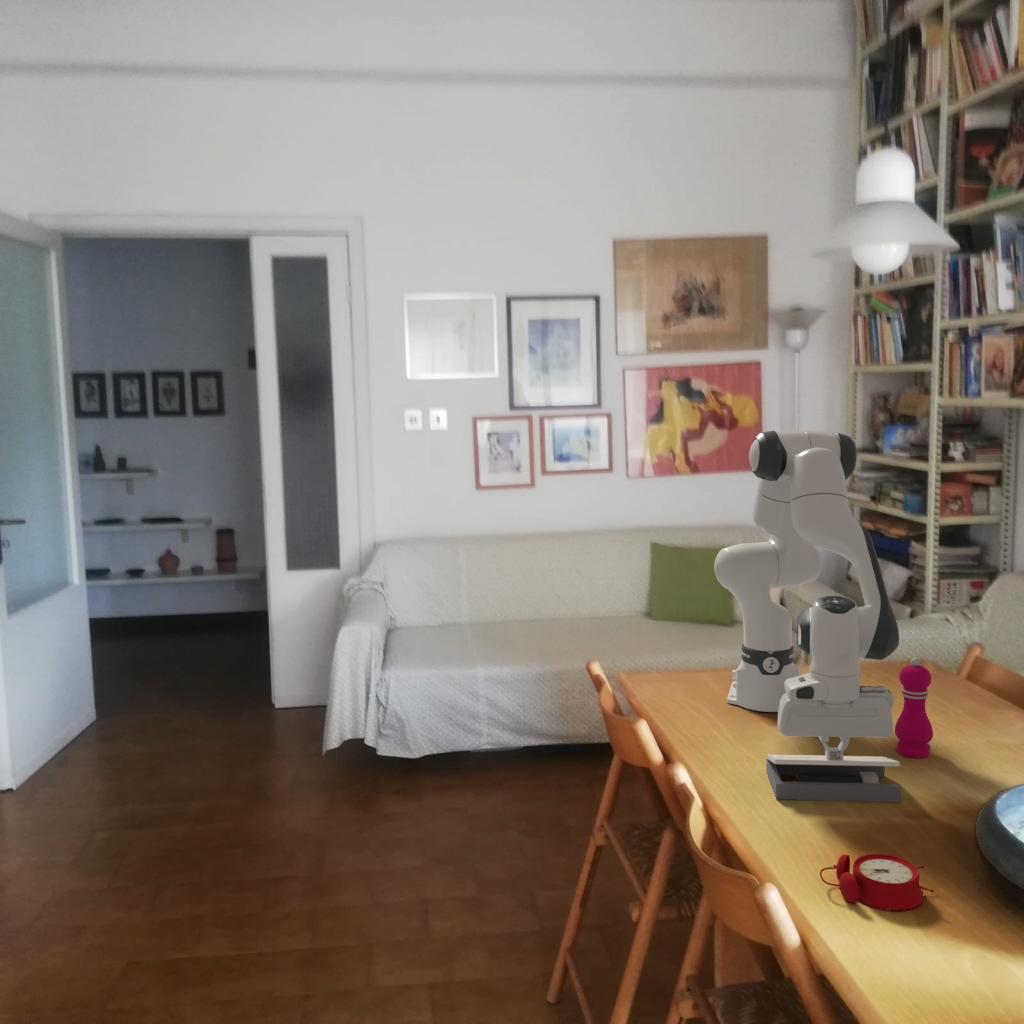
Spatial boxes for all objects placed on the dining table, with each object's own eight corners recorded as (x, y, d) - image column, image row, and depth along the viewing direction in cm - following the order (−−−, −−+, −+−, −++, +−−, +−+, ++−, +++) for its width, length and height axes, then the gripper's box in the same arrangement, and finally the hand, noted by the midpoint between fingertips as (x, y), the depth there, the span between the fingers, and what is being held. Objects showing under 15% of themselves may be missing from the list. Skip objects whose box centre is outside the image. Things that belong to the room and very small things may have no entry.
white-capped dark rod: (795, 789, 179) (796, 776, 179) (793, 783, 181) (793, 770, 181) (878, 790, 177) (878, 777, 177) (874, 784, 180) (874, 771, 180)
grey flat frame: (766, 772, 187) (766, 757, 187) (882, 774, 184) (883, 760, 184) (775, 799, 175) (776, 784, 174) (900, 802, 172) (901, 786, 172)
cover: (766, 758, 186) (766, 754, 186) (883, 760, 183) (883, 756, 183) (775, 764, 175) (775, 759, 175) (899, 766, 172) (899, 761, 172)
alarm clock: (939, 892, 135) (832, 862, 138) (927, 931, 136) (821, 901, 139) (924, 857, 145) (824, 829, 148) (913, 893, 146) (814, 866, 149)
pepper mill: (936, 760, 191) (939, 663, 188) (898, 758, 192) (900, 662, 189) (928, 747, 198) (930, 653, 195) (891, 745, 199) (893, 652, 196)
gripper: (888, 681, 177) (887, 753, 178) (775, 680, 179) (775, 751, 181) (898, 691, 170) (897, 765, 172) (781, 690, 173) (781, 763, 174)
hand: (834, 758), depth 176 cm, fingers closed, pressing on cover
